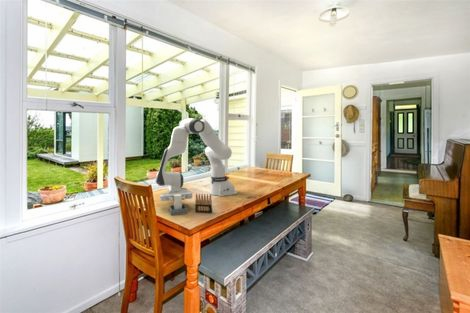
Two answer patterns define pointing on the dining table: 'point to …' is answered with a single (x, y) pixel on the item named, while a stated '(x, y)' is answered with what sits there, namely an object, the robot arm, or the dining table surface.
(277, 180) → the dining table surface
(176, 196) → the cream block
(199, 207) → the ammunition clip
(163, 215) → the dining table surface
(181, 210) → the box
